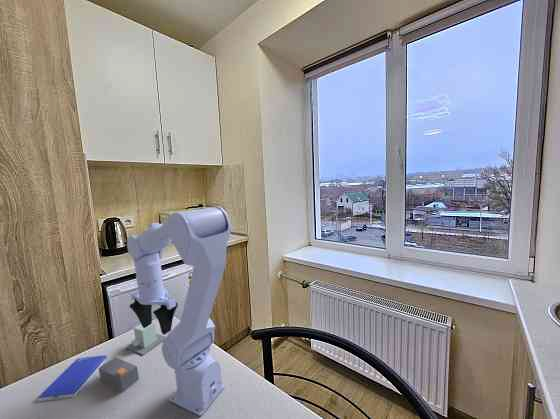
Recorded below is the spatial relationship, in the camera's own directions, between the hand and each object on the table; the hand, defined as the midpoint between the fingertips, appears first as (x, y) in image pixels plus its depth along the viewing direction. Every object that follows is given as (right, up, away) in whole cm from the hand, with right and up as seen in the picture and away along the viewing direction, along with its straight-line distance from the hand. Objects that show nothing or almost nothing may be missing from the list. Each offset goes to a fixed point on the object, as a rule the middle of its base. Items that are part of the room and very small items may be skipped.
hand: (156, 328), depth 63 cm
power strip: (-8, -11, -3) cm, 14 cm away
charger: (-9, -9, +11) cm, 17 cm away
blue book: (-20, -13, -1) cm, 24 cm away
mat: (-9, -10, +11) cm, 17 cm away
